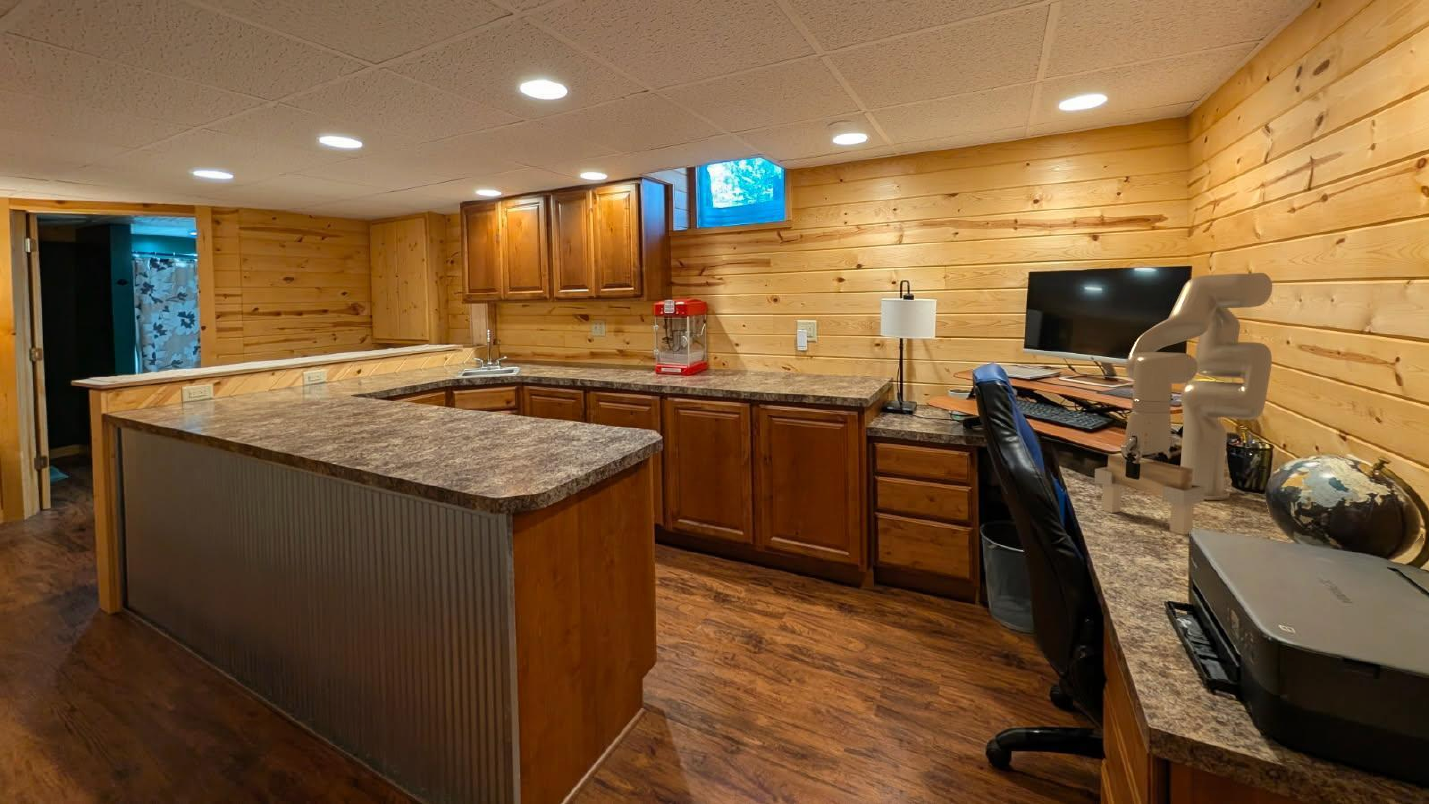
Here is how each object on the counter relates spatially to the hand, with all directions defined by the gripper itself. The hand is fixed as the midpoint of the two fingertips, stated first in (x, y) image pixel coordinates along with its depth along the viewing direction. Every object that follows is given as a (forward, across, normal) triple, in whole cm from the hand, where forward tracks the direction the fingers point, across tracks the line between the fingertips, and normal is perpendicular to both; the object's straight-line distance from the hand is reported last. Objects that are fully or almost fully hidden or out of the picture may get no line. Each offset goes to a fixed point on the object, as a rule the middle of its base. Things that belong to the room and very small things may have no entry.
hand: (1146, 475), depth 151 cm
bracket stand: (+11, 0, 0) cm, 11 cm away
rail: (+3, 0, 0) cm, 3 cm away
